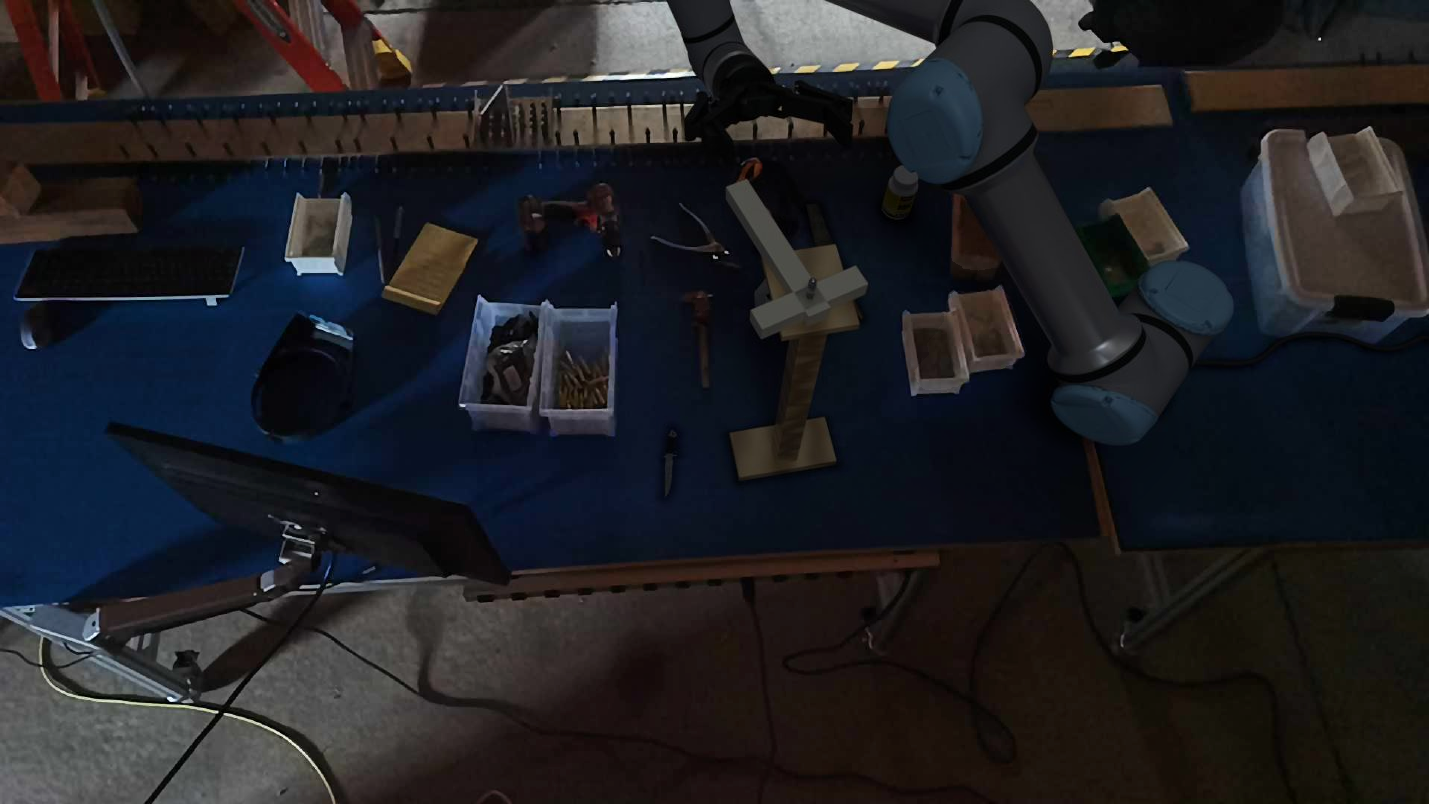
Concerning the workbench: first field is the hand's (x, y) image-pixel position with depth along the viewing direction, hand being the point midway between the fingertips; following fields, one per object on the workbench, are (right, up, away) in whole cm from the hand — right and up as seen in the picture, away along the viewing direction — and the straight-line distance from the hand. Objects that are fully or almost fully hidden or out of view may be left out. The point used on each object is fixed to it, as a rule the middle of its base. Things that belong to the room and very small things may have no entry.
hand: (790, 145), depth 94 cm
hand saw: (+11, -6, +44) cm, 46 cm away
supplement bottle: (+22, +4, +49) cm, 54 cm away
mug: (+3, -16, +39) cm, 43 cm away
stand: (+1, -34, +30) cm, 45 cm away
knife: (-14, -37, +29) cm, 49 cm away
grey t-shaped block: (-2, -13, -4) cm, 14 cm away
